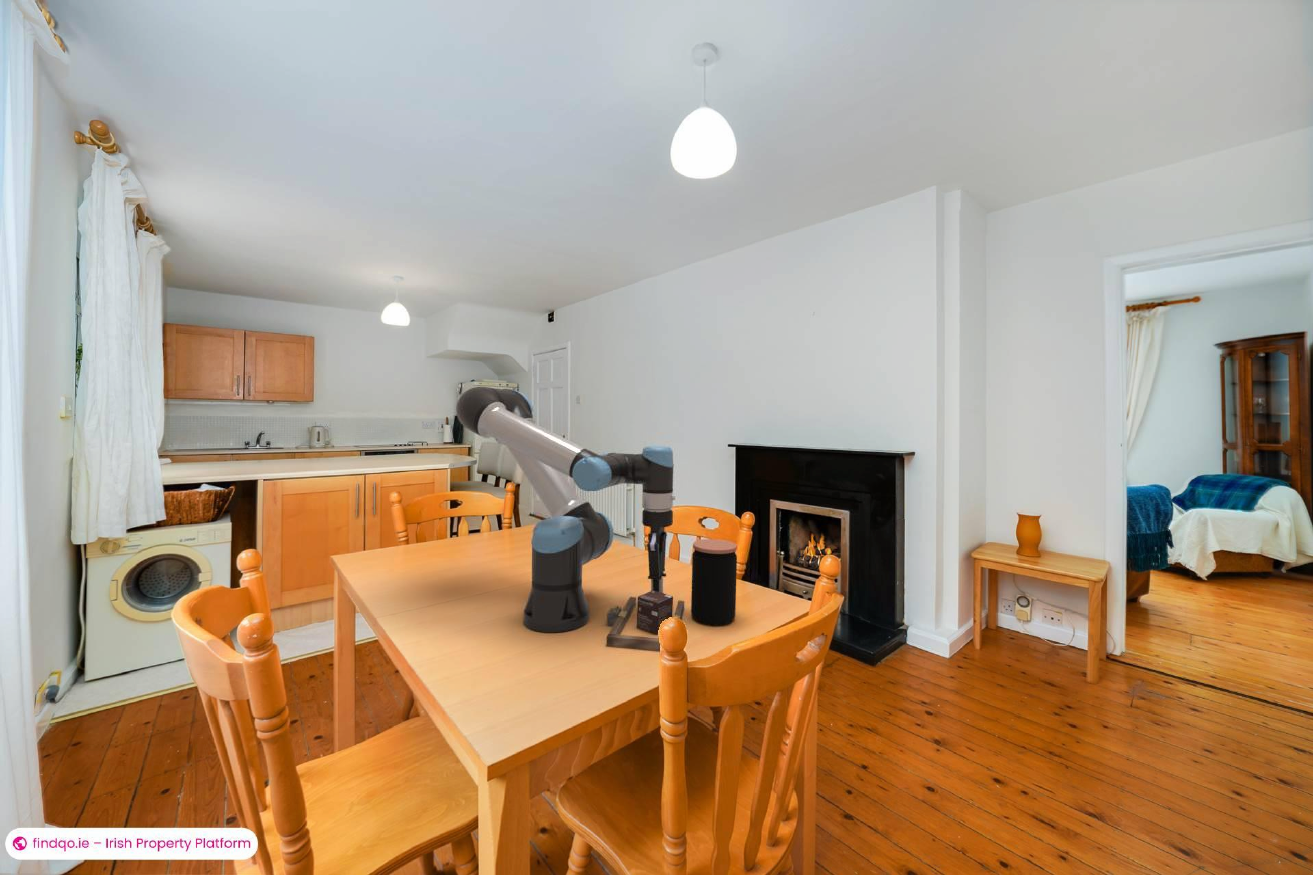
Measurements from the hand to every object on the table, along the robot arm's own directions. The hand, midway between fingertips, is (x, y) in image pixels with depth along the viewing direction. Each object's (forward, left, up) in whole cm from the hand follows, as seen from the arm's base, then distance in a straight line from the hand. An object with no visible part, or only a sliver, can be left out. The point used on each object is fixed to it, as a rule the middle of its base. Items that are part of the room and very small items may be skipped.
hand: (656, 603), depth 123 cm
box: (+1, -9, -2) cm, 9 cm away
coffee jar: (+14, 0, -2) cm, 14 cm away
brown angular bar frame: (-2, -8, -2) cm, 9 cm away
